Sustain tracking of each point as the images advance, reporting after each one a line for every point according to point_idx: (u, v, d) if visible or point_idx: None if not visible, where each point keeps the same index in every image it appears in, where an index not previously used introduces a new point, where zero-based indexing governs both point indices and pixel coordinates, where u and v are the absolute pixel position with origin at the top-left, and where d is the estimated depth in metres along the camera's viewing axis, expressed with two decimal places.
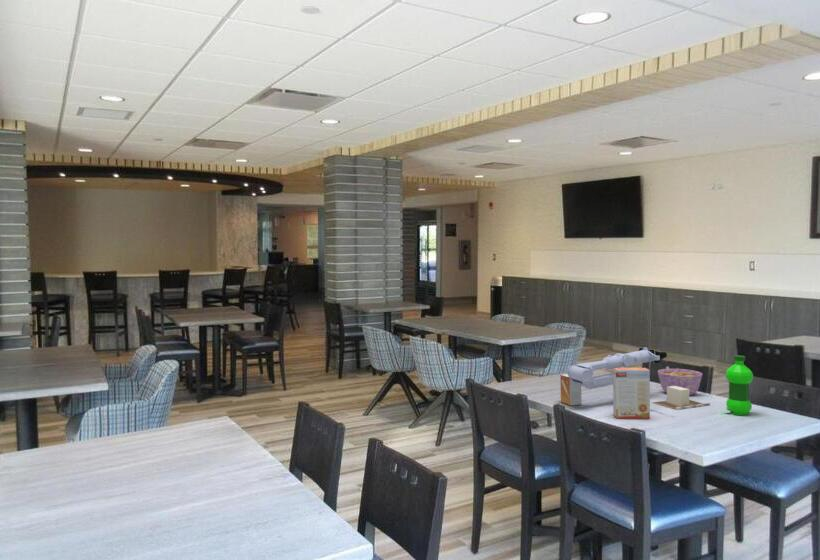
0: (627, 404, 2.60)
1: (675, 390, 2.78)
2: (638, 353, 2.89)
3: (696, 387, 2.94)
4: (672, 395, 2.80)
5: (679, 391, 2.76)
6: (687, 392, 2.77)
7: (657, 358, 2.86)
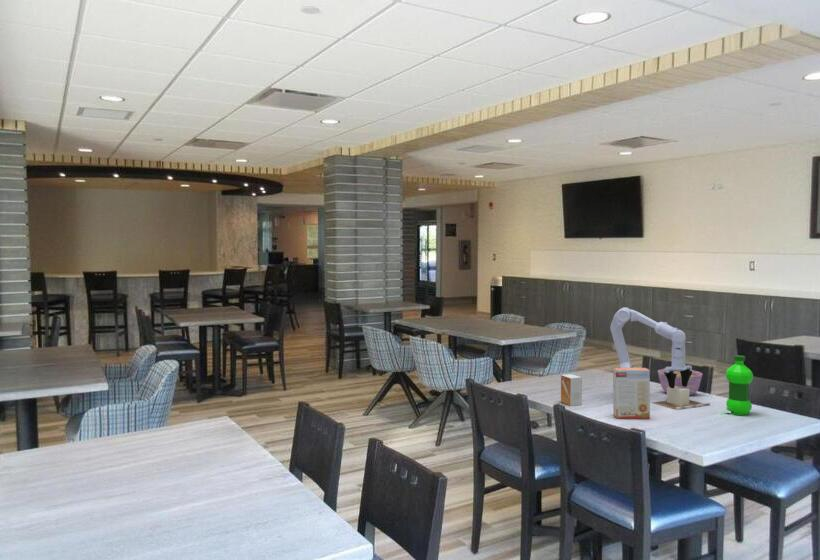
0: (627, 404, 2.60)
1: (675, 390, 2.78)
2: (683, 355, 2.77)
3: (696, 387, 2.94)
4: (672, 395, 2.80)
5: (679, 391, 2.76)
6: (687, 392, 2.77)
7: (666, 369, 2.77)
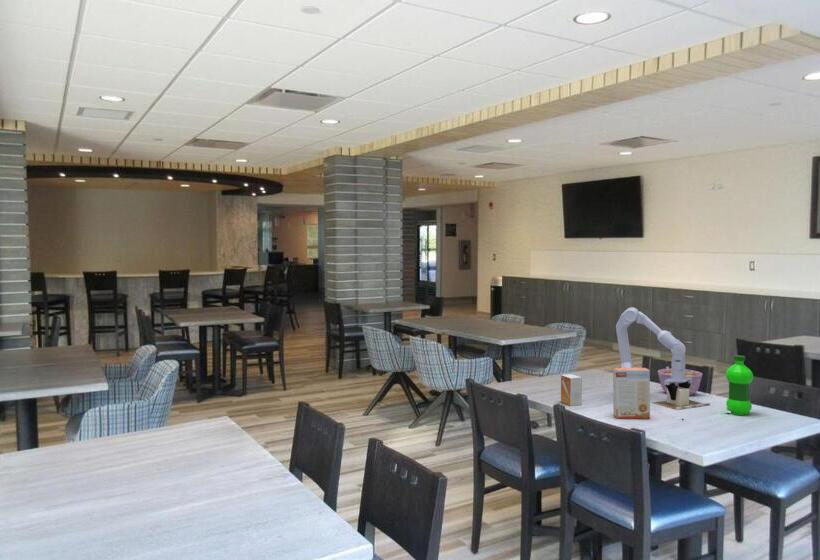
0: (627, 404, 2.60)
1: None
2: (683, 367, 2.77)
3: (696, 387, 2.94)
4: None
5: (679, 391, 2.76)
6: (687, 392, 2.77)
7: (666, 381, 2.77)
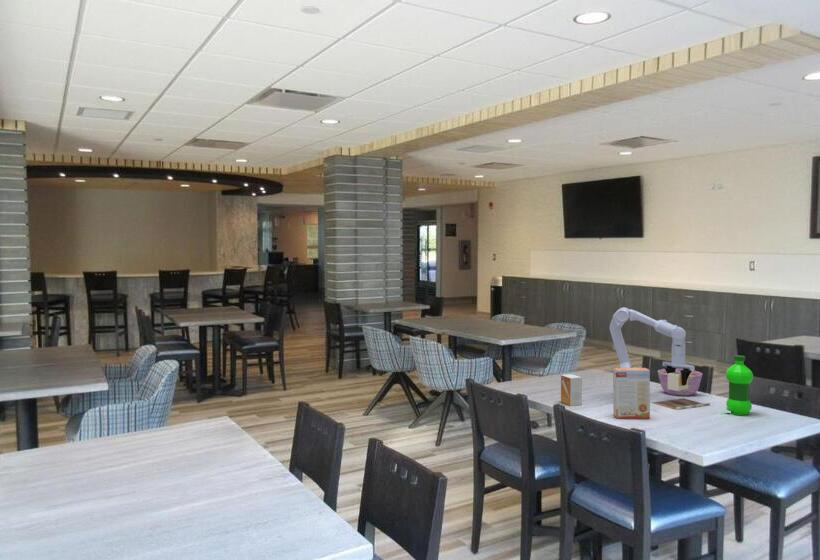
0: (627, 404, 2.60)
1: None
2: (683, 352, 2.77)
3: (696, 387, 2.94)
4: None
5: None
6: (675, 378, 2.77)
7: None
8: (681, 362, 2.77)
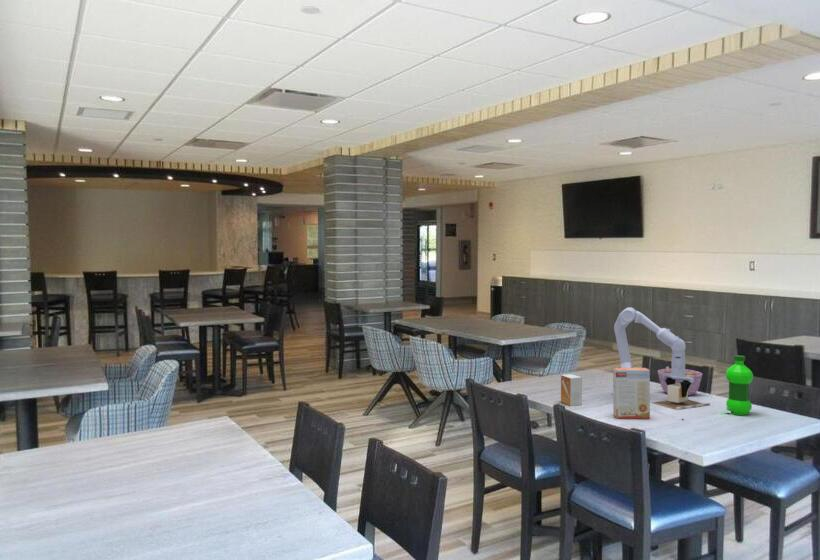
0: (627, 404, 2.60)
1: None
2: (683, 364, 2.77)
3: (696, 387, 2.94)
4: None
5: None
6: (675, 389, 2.77)
7: None
8: (681, 374, 2.77)
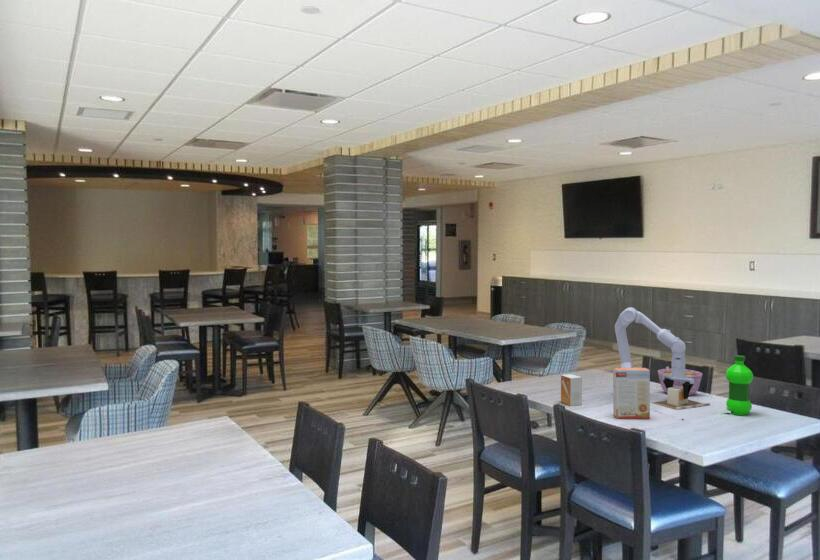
0: (627, 404, 2.60)
1: None
2: (683, 365, 2.77)
3: (696, 387, 2.94)
4: None
5: None
6: (675, 392, 2.77)
7: None
8: (681, 375, 2.77)
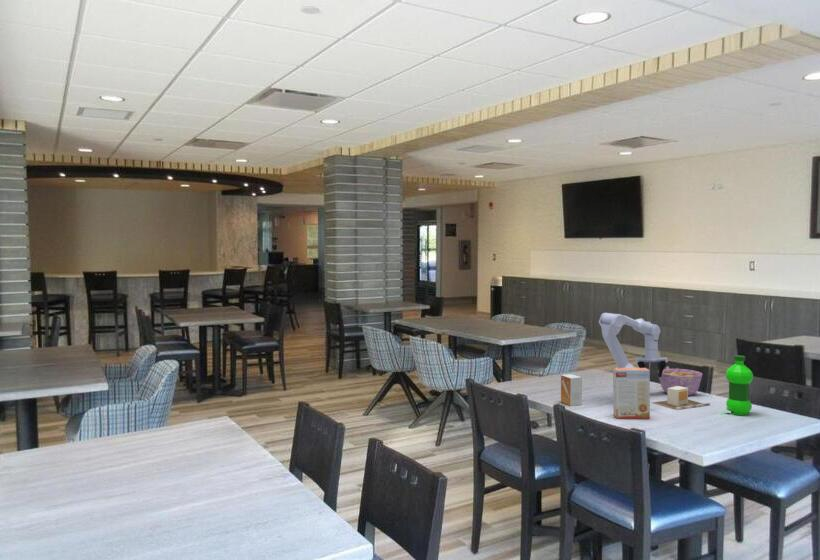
0: (627, 404, 2.60)
1: None
2: None
3: (696, 387, 2.94)
4: None
5: None
6: (675, 392, 2.77)
7: (635, 359, 2.96)
8: (657, 356, 2.93)
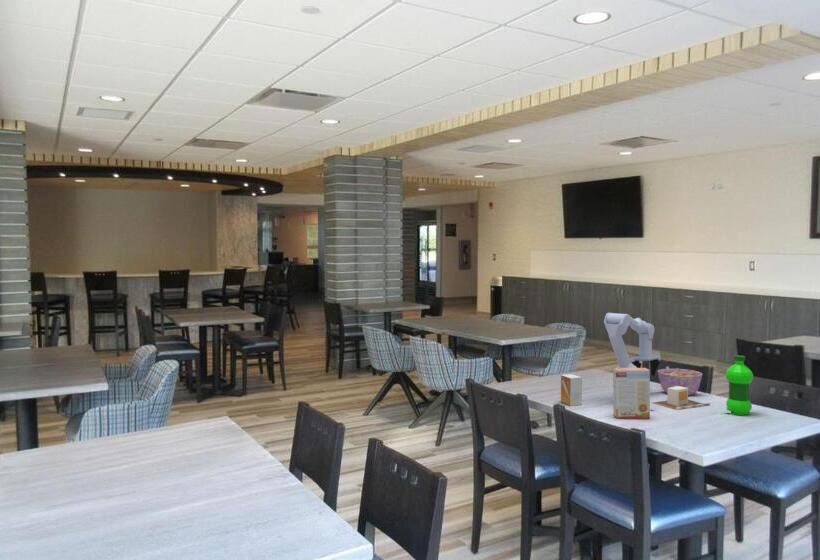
0: (627, 404, 2.60)
1: None
2: None
3: (696, 387, 2.94)
4: None
5: None
6: (675, 392, 2.77)
7: (631, 358, 2.97)
8: (651, 354, 2.97)
